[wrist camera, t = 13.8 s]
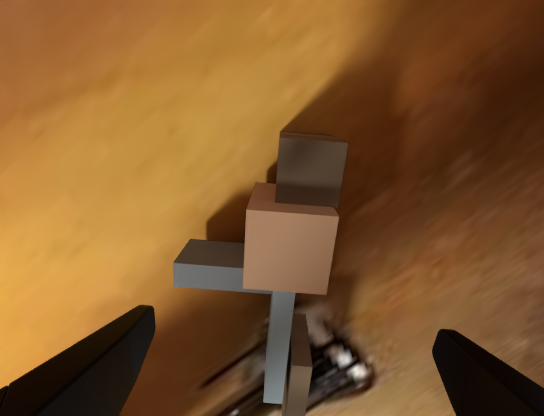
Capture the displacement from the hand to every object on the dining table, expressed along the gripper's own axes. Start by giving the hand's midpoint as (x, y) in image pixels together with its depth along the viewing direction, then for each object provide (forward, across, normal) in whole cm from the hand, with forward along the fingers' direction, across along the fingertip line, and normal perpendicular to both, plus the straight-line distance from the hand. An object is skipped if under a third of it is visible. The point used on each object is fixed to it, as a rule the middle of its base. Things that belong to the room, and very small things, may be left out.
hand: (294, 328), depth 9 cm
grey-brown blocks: (+10, -1, +5) cm, 11 cm away
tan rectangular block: (+9, 0, 0) cm, 9 cm away
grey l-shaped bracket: (+10, +3, +6) cm, 12 cm away
